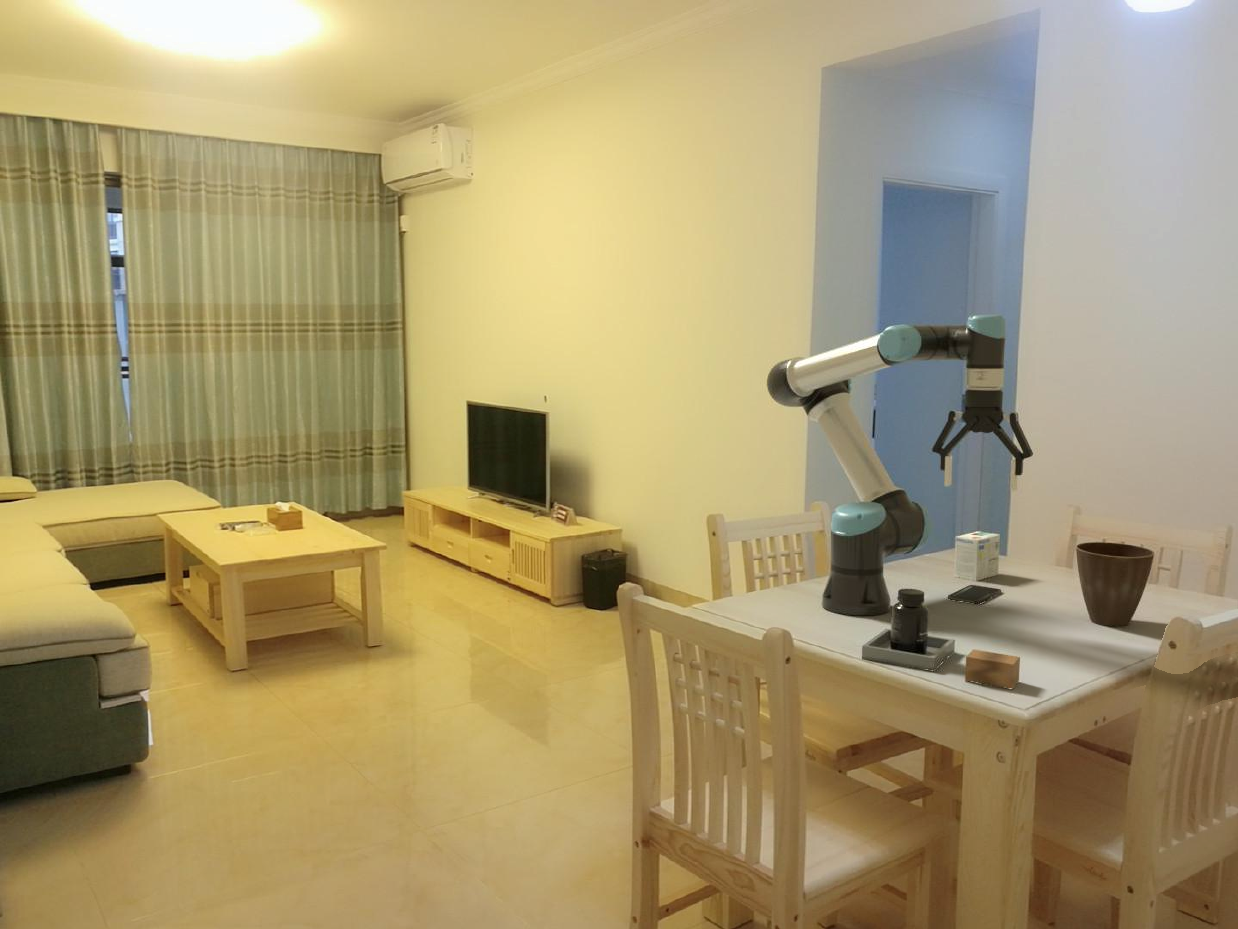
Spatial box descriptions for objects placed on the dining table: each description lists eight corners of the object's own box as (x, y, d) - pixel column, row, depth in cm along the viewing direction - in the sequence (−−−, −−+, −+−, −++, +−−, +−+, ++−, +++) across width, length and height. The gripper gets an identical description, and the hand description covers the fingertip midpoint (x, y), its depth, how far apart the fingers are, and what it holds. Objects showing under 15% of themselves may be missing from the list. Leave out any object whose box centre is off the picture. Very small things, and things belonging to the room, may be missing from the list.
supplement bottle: (928, 659, 186) (931, 596, 185) (891, 656, 188) (893, 594, 186) (925, 648, 193) (928, 588, 191) (889, 645, 194) (891, 586, 193)
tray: (861, 658, 189) (862, 645, 188) (885, 640, 200) (886, 628, 200) (933, 671, 181) (934, 658, 181) (954, 652, 192) (954, 639, 192)
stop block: (965, 681, 176) (966, 656, 175) (972, 673, 180) (973, 649, 179) (1012, 689, 171) (1013, 664, 171) (1018, 681, 176) (1019, 657, 175)
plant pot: (1153, 619, 214) (1158, 547, 212) (1145, 636, 202) (1149, 559, 200) (1078, 609, 223) (1082, 539, 221) (1066, 625, 210) (1070, 551, 208)
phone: (946, 596, 232) (970, 584, 243) (945, 601, 232) (970, 588, 243) (979, 602, 226) (1003, 589, 238) (979, 606, 227) (1003, 594, 238)
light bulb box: (975, 570, 261) (977, 530, 259) (999, 575, 256) (1001, 534, 254) (952, 576, 254) (954, 535, 253) (976, 581, 249) (978, 539, 247)
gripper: (919, 388, 213) (916, 485, 216) (1043, 390, 199) (1038, 495, 202) (930, 386, 219) (926, 481, 222) (1050, 389, 205) (1045, 490, 208)
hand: (979, 488), depth 212 cm, fingers open, 13 cm apart
